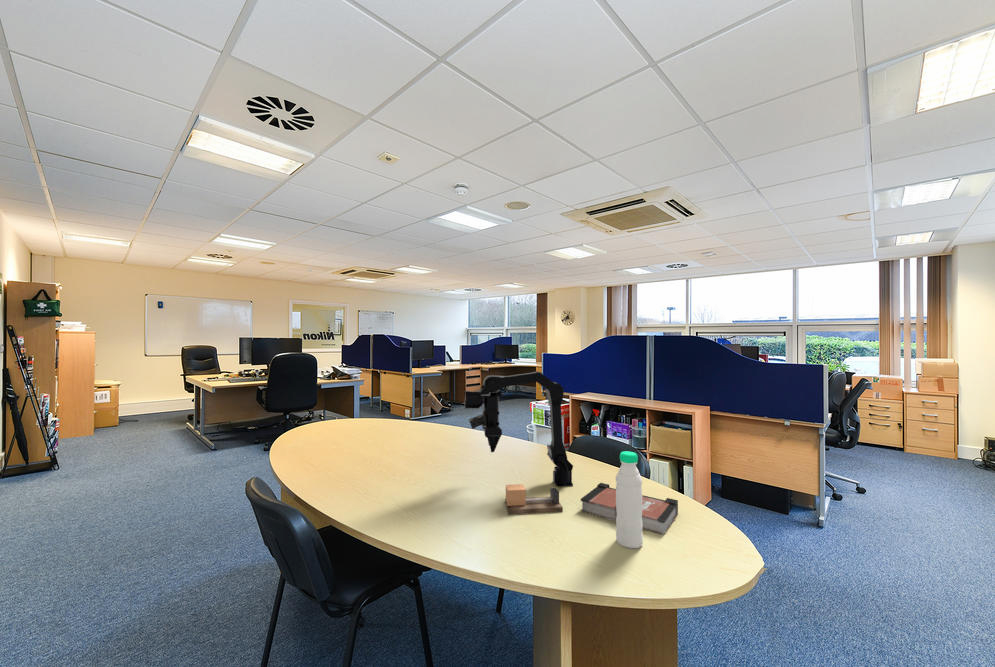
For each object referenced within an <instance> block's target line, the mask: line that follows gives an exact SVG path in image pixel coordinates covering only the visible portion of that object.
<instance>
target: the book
mask: <svg viewBox="0 0 995 667" xmlns="http://www.w3.org/2000/svg"><path fill="white" fill-rule="evenodd" d="M580 502H581V504H582V505H581V509H580V512H581V511H582V513H585V512H586V514H589V513H590V514H589V515H592V514H593V515H592V516H596V515H597V517H599V516H600V517H599V518H603V519H606V518H607V519H606V520H609V521H610V520H611V521H614V522H616V516H617V512H616V488H613V487H611V486H610V484H608V483H605V482H599V483H598V484H597V485H596V487H595V488H593V489H592V490H590V491H589V492H588V493H586V494H585V495H584V496H582V497H581V498H580ZM678 516H679V500H678V499H674V498H669V497H666V498H665V499H660V498H655V497H653V496H652V497H651V496H647V495H643V494H642V523H643V527H642V530H645V531H649V532H652V533H656V534H660V535H663V536H665V535H666V534H667V532H668V530H670V527H671V525H672V524H673V523H674V521H675V519H676V518H677V517H678Z"/></svg>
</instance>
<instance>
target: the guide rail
mask: <svg viewBox="0 0 995 667" xmlns="http://www.w3.org/2000/svg"><path fill="white" fill-rule="evenodd" d="M549 490H550V496H549V497H550V498H533V499H526V502H525V504H534V503H553V504H559V502H560V491H559V490H558V488H557V487H550V489H549Z"/></svg>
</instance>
